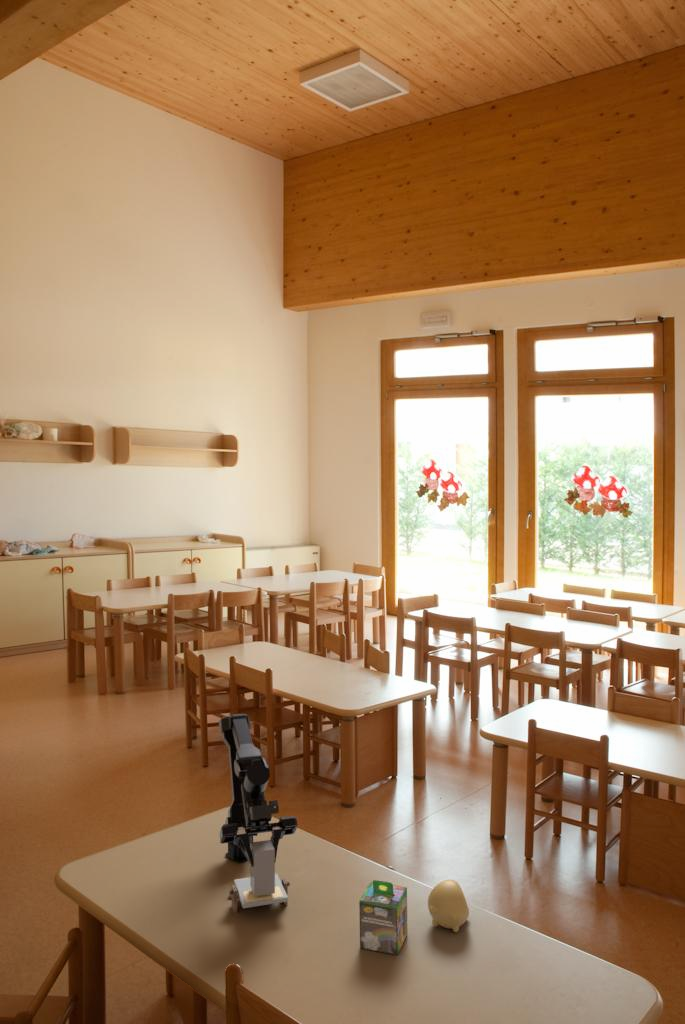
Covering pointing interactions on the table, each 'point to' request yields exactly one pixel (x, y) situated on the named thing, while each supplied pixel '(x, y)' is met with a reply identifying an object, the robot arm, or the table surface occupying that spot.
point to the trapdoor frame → (234, 895)
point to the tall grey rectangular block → (262, 868)
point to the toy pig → (448, 905)
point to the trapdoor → (252, 901)
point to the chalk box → (383, 917)
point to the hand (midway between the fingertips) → (263, 864)
